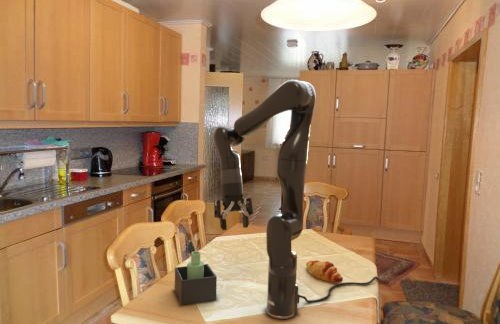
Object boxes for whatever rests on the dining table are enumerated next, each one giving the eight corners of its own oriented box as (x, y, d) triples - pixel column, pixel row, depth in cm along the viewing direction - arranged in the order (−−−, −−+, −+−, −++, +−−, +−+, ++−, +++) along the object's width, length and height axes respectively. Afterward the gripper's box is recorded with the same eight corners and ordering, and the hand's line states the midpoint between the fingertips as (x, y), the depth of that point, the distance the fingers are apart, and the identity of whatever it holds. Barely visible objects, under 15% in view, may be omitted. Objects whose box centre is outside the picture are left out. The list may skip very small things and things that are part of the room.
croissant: (301, 275, 167) (295, 261, 165) (317, 261, 172) (311, 247, 169) (336, 294, 149) (330, 278, 147) (353, 278, 154) (347, 262, 151)
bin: (207, 285, 147) (207, 263, 146) (216, 300, 135) (216, 276, 134) (174, 289, 142) (175, 267, 141) (181, 305, 131) (181, 280, 130)
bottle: (201, 288, 143) (201, 249, 141) (204, 295, 137) (205, 254, 136) (185, 290, 141) (186, 250, 139) (188, 297, 135) (189, 256, 134)
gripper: (218, 182, 130) (222, 231, 129) (254, 180, 138) (258, 226, 136) (208, 184, 136) (212, 230, 135) (243, 182, 144) (246, 226, 143)
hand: (235, 228), depth 136 cm, fingers open, 8 cm apart
